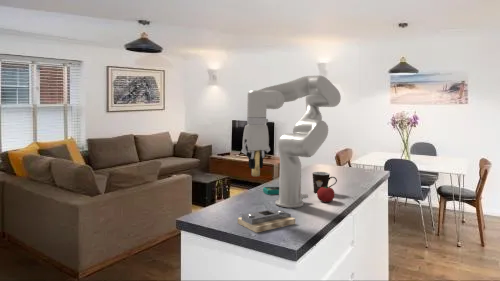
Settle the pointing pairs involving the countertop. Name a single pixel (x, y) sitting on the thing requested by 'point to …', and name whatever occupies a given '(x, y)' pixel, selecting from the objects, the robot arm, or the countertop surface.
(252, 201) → the countertop surface
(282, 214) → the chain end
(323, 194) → the tomato
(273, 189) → the digital multimeter
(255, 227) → the board
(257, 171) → the brass pin
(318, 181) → the coffee mug
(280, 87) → the robot arm
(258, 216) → the plate
